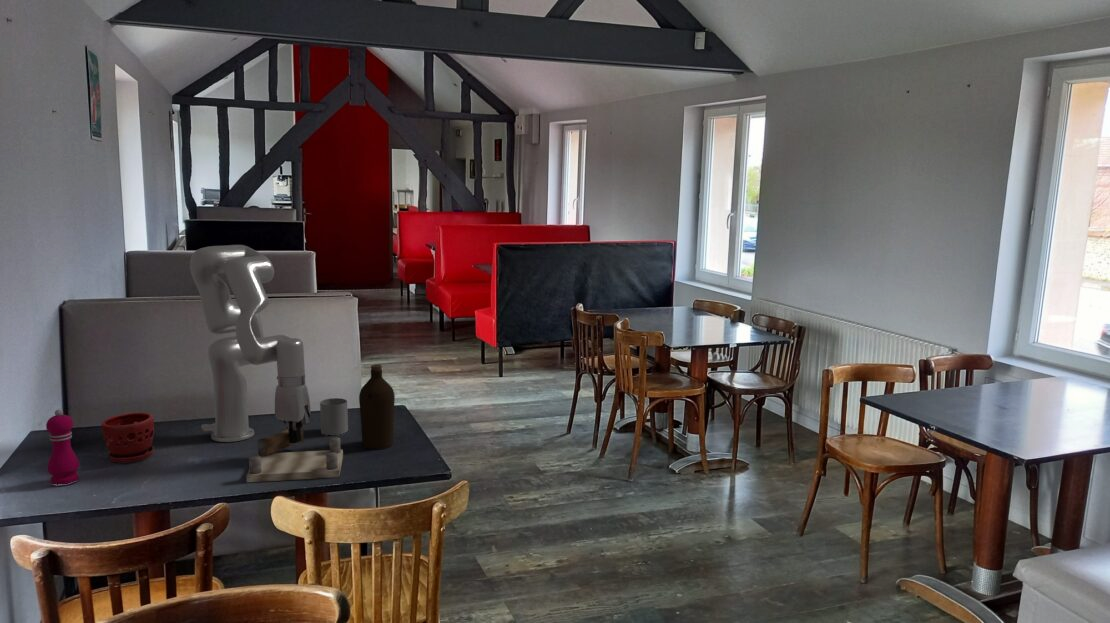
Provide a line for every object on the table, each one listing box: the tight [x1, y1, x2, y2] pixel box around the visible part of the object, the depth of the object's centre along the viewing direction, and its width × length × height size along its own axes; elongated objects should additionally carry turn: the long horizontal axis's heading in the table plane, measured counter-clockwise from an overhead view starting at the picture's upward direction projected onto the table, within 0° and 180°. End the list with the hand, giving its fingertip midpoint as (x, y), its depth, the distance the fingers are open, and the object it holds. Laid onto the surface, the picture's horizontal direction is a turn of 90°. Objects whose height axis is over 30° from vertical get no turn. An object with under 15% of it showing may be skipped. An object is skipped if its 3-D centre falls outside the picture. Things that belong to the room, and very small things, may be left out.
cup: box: [319, 397, 349, 436], centre depth 253 cm, size 8×8×10 cm
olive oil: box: [358, 364, 396, 450], centre depth 240 cm, size 11×11×25 cm
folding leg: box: [257, 427, 305, 455], centre depth 229 cm, size 15×3×4 cm, turn 152°
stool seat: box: [246, 436, 344, 483], centre depth 220 cm, size 24×17×6 cm
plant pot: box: [101, 412, 155, 464], centre depth 226 cm, size 13×13×12 cm
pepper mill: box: [46, 408, 80, 485], centre depth 206 cm, size 7×7×20 cm
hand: (295, 441), depth 230 cm, fingers closed
